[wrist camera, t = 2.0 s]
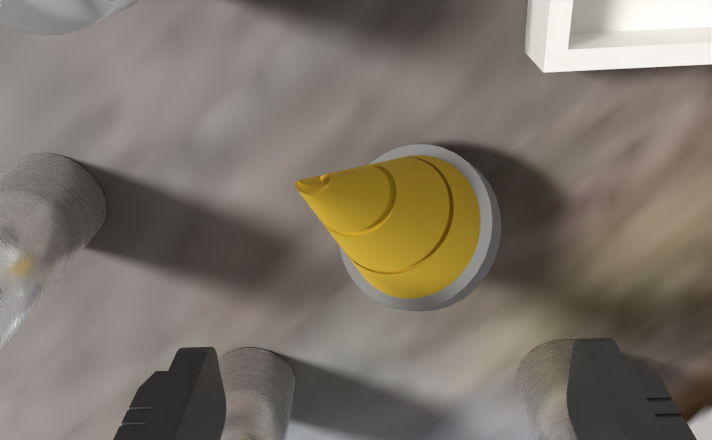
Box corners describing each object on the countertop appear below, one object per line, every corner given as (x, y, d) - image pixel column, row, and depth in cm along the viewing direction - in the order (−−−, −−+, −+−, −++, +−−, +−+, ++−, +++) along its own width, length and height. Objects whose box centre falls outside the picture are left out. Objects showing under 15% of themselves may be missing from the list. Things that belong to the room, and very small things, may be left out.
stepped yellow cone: (368, 279, 24) (181, 249, 15) (419, 153, 24) (258, 52, 15) (489, 338, 21) (343, 343, 13) (548, 197, 21) (441, 103, 12)
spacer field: (-120, -142, 17) (-474, -165, 10) (709, -202, 16) (981, -277, 9) (89, 413, 27) (-11, 594, 20) (597, 403, 26) (679, 592, 19)
